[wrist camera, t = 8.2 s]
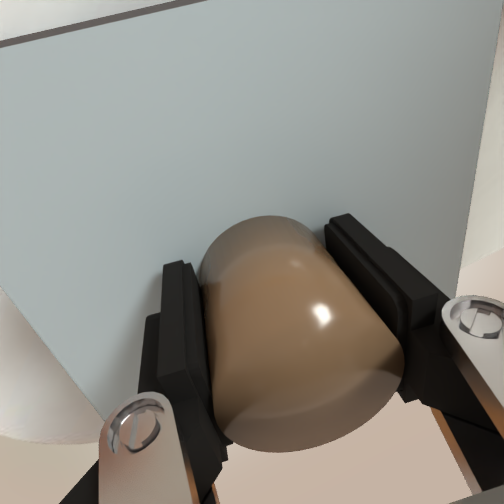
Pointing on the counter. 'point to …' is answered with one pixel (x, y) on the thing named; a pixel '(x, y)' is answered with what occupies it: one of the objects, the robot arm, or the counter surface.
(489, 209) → the counter surface
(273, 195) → the lid
